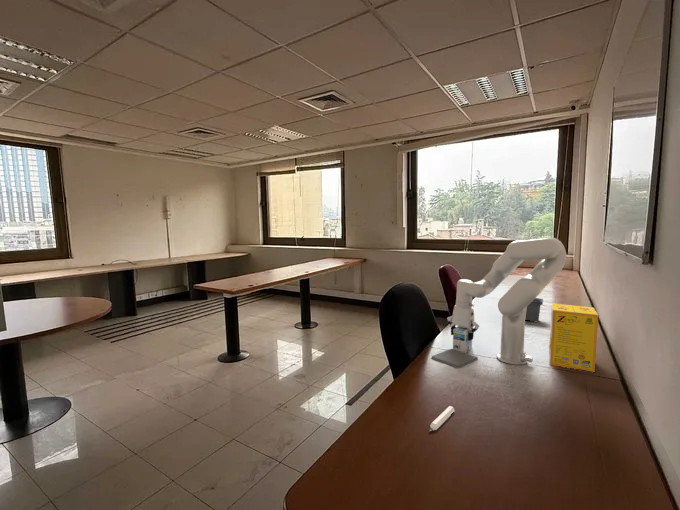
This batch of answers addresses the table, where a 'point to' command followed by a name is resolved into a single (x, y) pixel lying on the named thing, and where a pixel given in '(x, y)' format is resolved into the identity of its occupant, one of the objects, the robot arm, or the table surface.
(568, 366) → the packaging box
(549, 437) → the table surface
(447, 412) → the marker
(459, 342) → the light bulb box
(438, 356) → the mat
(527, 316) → the storage bin
